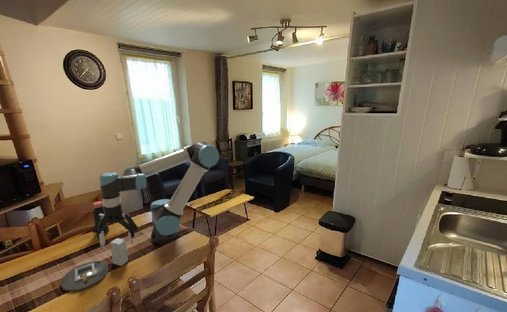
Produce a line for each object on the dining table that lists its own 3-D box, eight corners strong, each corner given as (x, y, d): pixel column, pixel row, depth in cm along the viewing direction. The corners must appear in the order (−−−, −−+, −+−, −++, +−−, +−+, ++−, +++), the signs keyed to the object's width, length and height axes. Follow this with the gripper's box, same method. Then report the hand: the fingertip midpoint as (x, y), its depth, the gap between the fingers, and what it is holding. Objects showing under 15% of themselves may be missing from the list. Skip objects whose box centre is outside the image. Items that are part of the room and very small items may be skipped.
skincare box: (112, 263, 120) (109, 242, 117) (119, 258, 124) (116, 237, 121) (122, 266, 118) (118, 244, 115) (129, 260, 122) (126, 239, 119)
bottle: (100, 236, 144) (95, 206, 140) (93, 233, 147) (88, 203, 142) (111, 230, 150) (106, 201, 146) (104, 228, 153) (100, 199, 148)
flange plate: (106, 259, 123) (104, 249, 122) (109, 279, 109) (108, 269, 108) (62, 273, 113) (60, 263, 112) (60, 298, 99) (57, 287, 97)
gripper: (142, 200, 119) (145, 238, 123) (89, 202, 116) (95, 240, 121) (136, 207, 111) (140, 247, 116) (79, 208, 109) (86, 249, 113)
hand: (117, 243), depth 118 cm, fingers open, 13 cm apart
